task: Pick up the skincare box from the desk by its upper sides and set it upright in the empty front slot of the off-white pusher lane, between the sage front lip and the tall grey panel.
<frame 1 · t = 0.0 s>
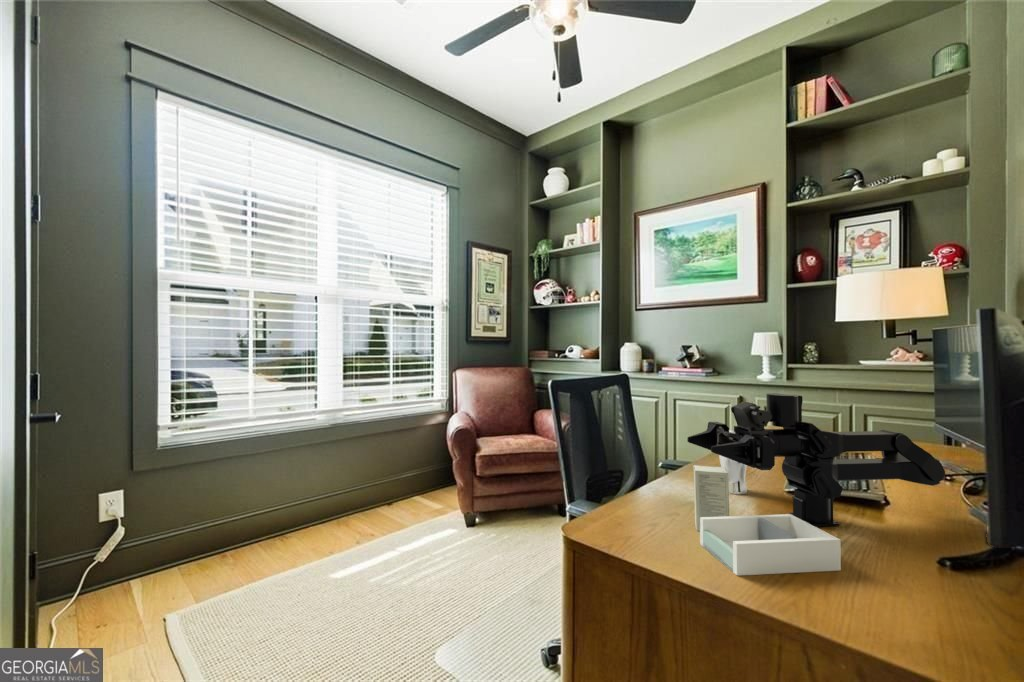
hand: (699, 444, 89), 17 cm above the table, tool horizontal, fingers open, 9 cm apart
pusher lane: (766, 556, 75), on the table
skincare box: (711, 529, 86), on the table
beer glass: (733, 491, 110), on the table
tall grey panel: (776, 538, 75), point 3 cm above the table, slide at 0.0 cm
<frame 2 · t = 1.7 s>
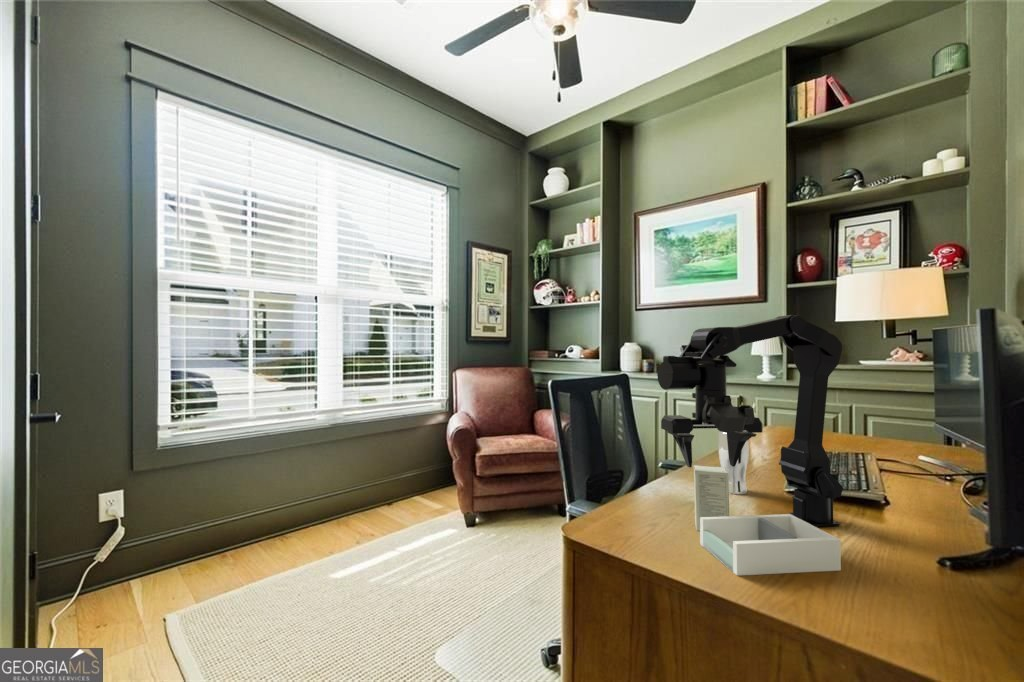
hand: (711, 466, 87), 12 cm above the table, tool pointing down, fingers open, 9 cm apart
nothing on the table moved.
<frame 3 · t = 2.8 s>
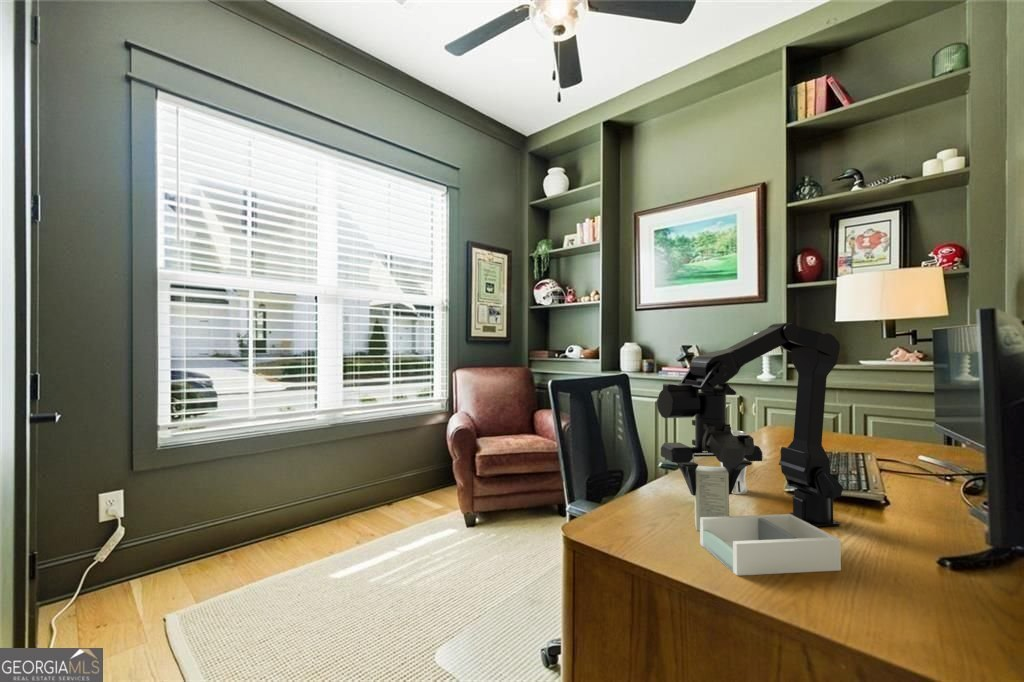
hand: (710, 494, 86), 7 cm above the table, tool pointing down, fingers closed on skincare box, 7 cm apart
skincare box: (711, 529, 86), on the table, touching gripper
everything else where it was.
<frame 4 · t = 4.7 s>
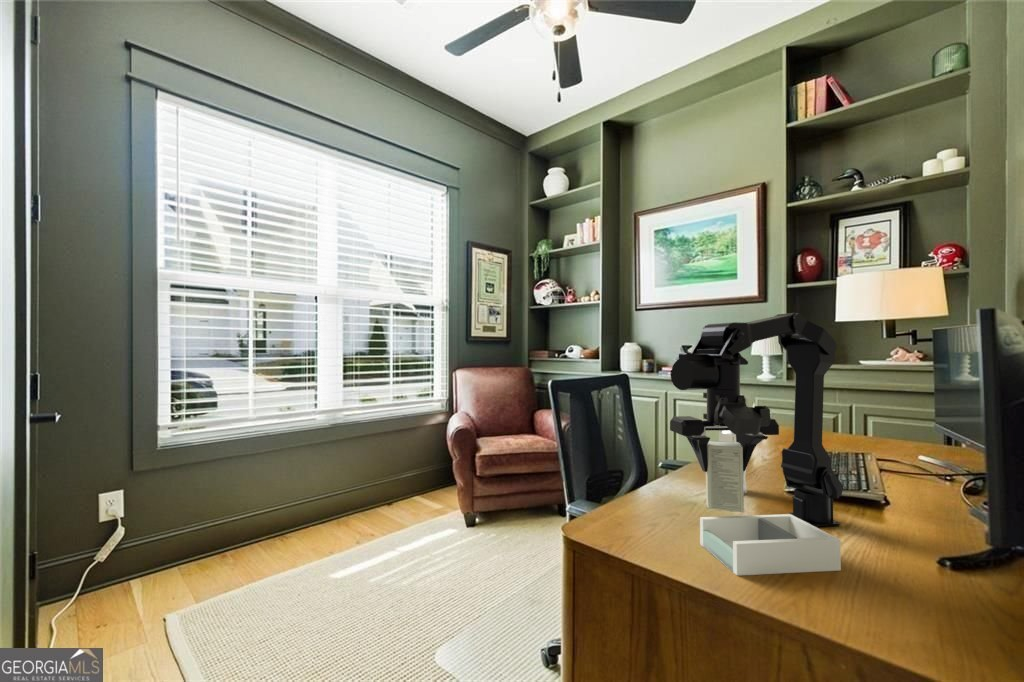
hand: (723, 471, 81), 13 cm above the table, tool pointing down, fingers closed on skincare box, 7 cm apart
skincare box: (723, 508, 81), point 6 cm above the table, touching gripper
everything else where it was.
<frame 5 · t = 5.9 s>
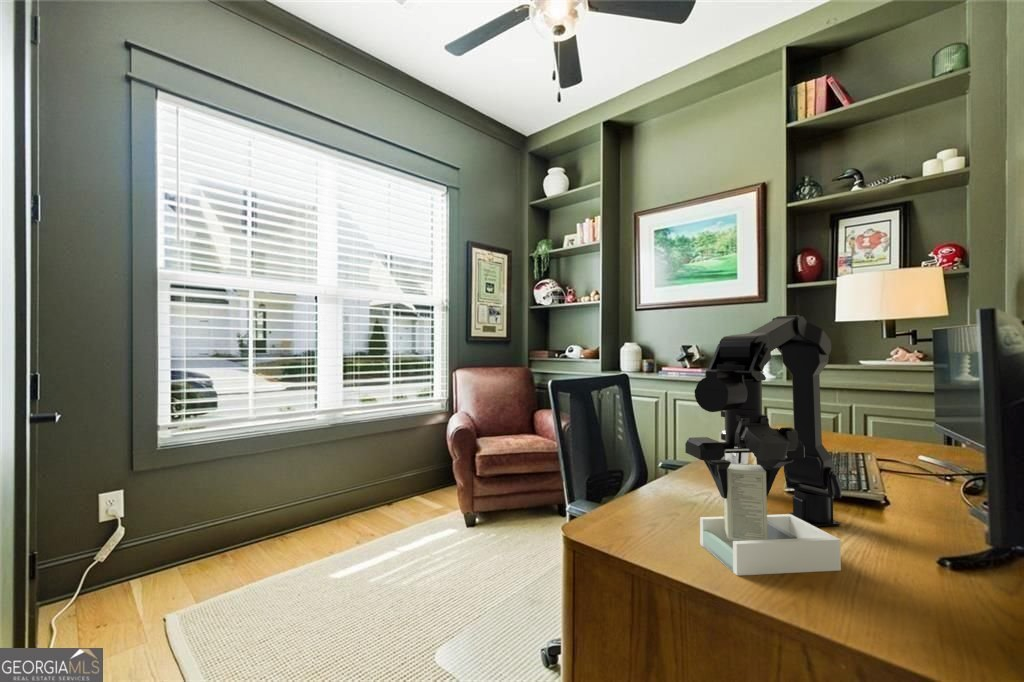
hand: (744, 497, 75), 10 cm above the table, tool pointing down, fingers closed on skincare box, 7 cm apart
skincare box: (744, 537, 74), point 3 cm above the table, touching gripper
everything else where it was.
when the fingers open (9 cm above the table, at t = 6.8 s): skincare box drops 1 cm, resting on pusher lane.
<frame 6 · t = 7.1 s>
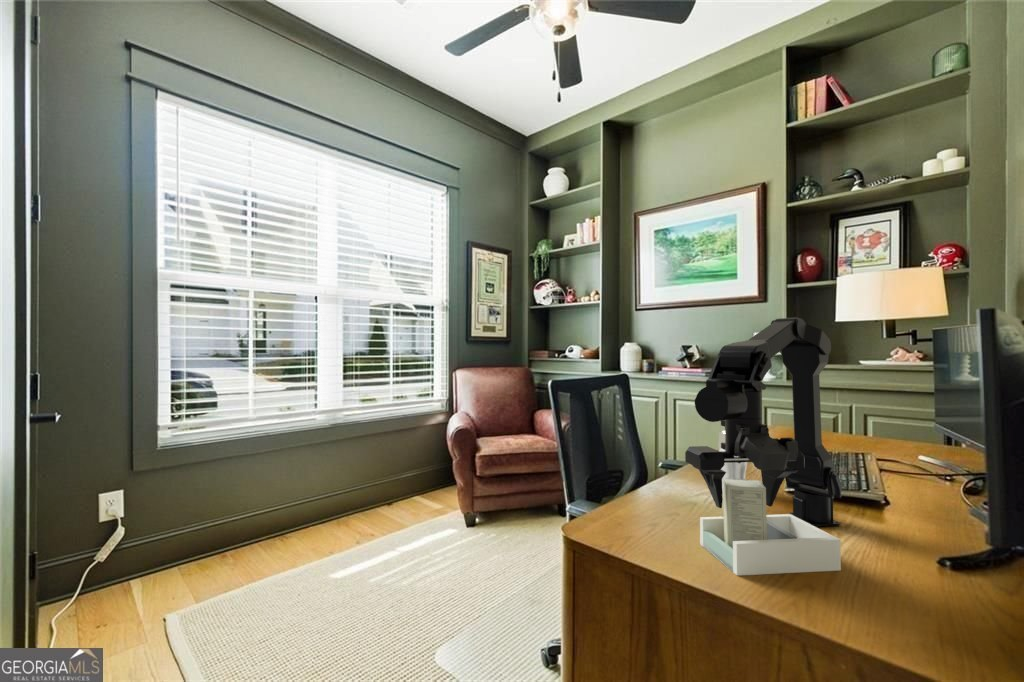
hand: (744, 506, 74), 9 cm above the table, tool pointing down, fingers open, 9 cm apart
skincare box: (744, 553, 74), point 1 cm above the table, touching pusher lane
everything else where it was.
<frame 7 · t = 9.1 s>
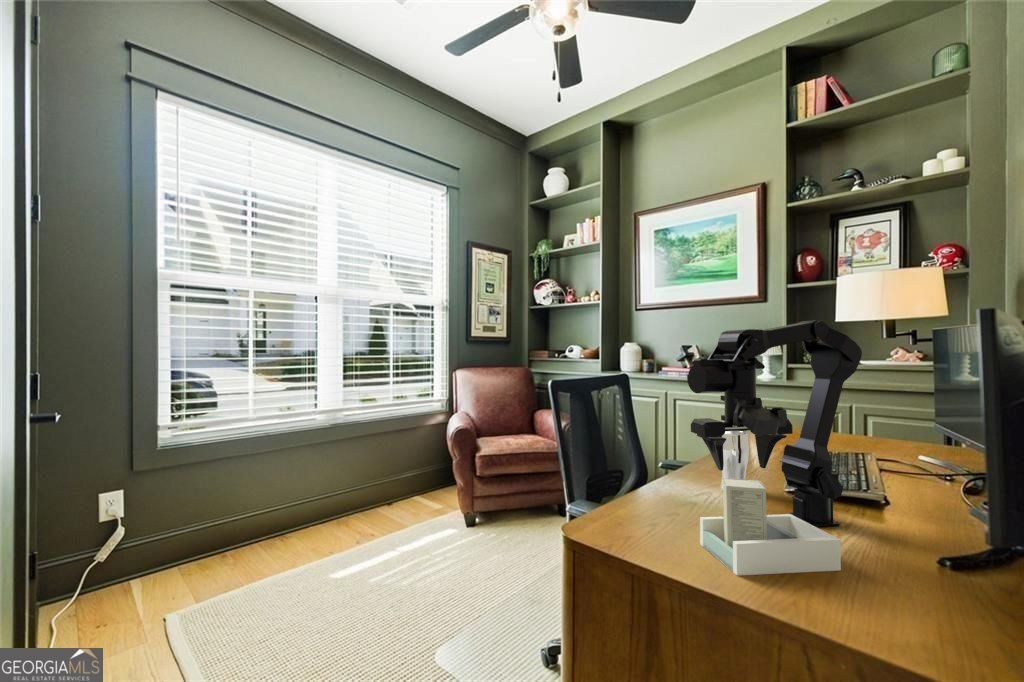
hand: (741, 469, 86), 12 cm above the table, tool pointing down, fingers open, 9 cm apart
nothing on the table moved.
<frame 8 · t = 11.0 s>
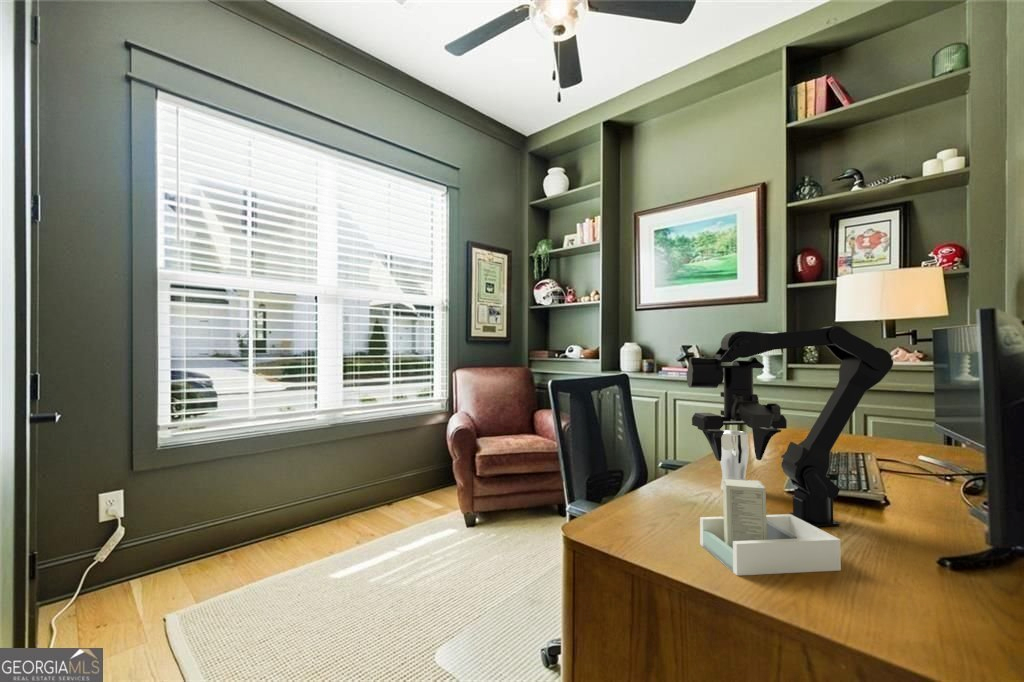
hand: (738, 460, 94), 12 cm above the table, tool pointing down, fingers open, 9 cm apart
nothing on the table moved.
at the end: skincare box 0.1 cm from the target spot on the pusher lane, point 0.6 cm above the pusher lane's base; skincare box tilted 0°; the gripper is holding nothing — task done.
